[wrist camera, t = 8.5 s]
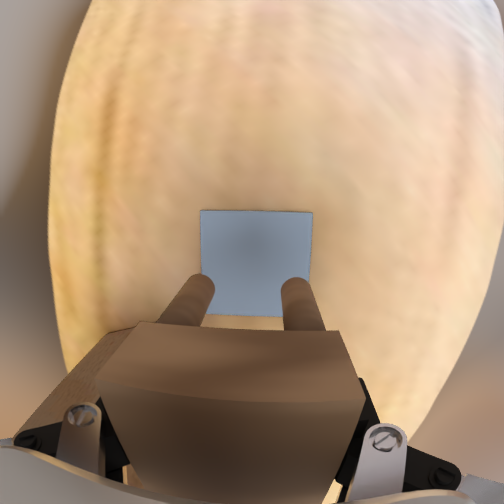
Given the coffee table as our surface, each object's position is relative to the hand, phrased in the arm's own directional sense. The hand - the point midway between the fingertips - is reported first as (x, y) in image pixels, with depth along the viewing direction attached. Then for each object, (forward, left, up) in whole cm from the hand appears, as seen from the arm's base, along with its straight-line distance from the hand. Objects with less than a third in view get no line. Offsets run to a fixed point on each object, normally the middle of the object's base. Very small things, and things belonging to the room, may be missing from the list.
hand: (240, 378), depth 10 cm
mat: (0, 0, -17) cm, 17 cm away
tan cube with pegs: (0, 0, -4) cm, 4 cm away
